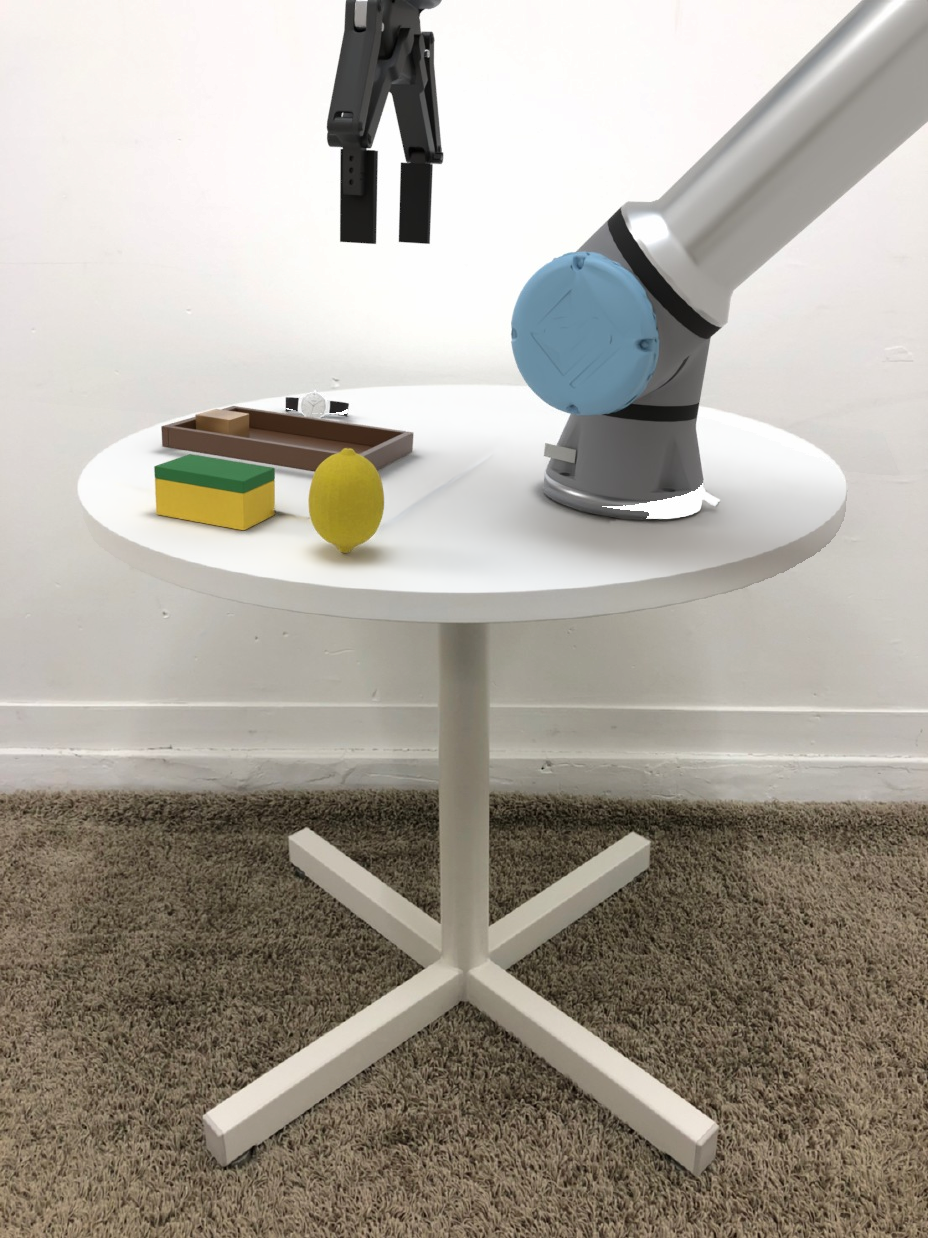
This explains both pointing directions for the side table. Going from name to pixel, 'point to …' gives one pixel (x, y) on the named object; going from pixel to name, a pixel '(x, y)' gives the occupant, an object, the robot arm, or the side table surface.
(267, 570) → the side table surface
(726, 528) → the side table surface
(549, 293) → the robot arm
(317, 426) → the tray
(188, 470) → the sponge
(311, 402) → the watch
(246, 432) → the tan wooden block
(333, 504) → the lemon
